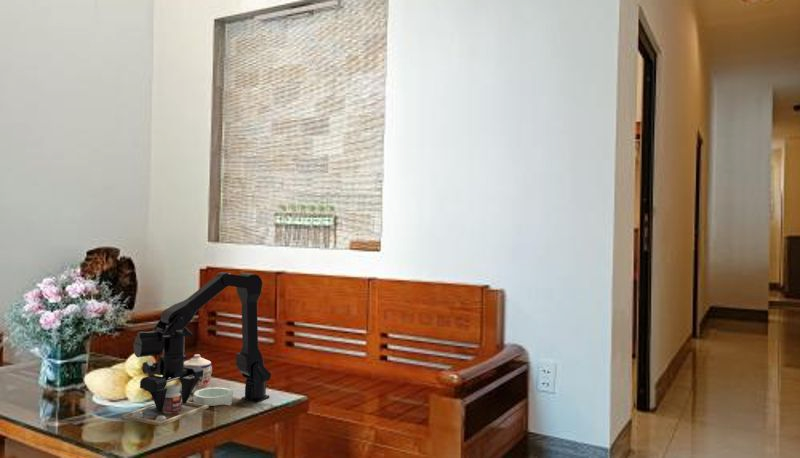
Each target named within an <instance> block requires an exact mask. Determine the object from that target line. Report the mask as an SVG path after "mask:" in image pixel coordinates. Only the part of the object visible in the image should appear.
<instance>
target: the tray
mask: <svg viewBox="0 0 800 458" xmlns="http://www.w3.org/2000/svg"><path fill="white" fill-rule="evenodd" d="M181 405H186V406H190V407H197V408H194V409H191V410H188V411H186V412H183V413H181V414H178V415H175V416H173V417H170V418H168V419H167V418H166V419H167V420H164V421H162V422H159V421H155V419H149V418H145V417H144V418H143V417H141V418H140V417H135V416H132V414H133V413H134V412H135V411H141V412H142V413H144V412H147V411H150V410H152V409H157V408H156V405H155V403H154V404H152V405H148V406H145V407H142V408H139V409H136V410H134V411H131V412H128V413H124V414H122V415H121V418H122V419H126V420H130V421H135V422H141V423H145V424H149V425H152V426H153V425H155V426H159V427H162V426H165V425H167V424H169V423H173V422H175V421H177V420H180V419H182V418H186V417H188V416H191V415H194V414H196V413H198V412H202V411H203V410H204V411H205V410H206V409H209V406H208V405H205V404H199V403H194V402H192V401H188V400H187V402H186V403H185V404H184V403H182V399H181Z"/></svg>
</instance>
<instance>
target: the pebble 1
mask: <svg viewBox="0 0 800 458" xmlns="http://www.w3.org/2000/svg"><path fill="white" fill-rule="evenodd" d="M134 411H135V412H134V413H133V414H132V416H135V417H140V418H143V417H144V412H141V411H136V410H134Z"/></svg>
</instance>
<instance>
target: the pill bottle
mask: <svg viewBox="0 0 800 458" xmlns="http://www.w3.org/2000/svg"><path fill="white" fill-rule="evenodd" d="M165 388H166V389H167V391H166V396H165V401H164V405H163V409H162V412H163V413H164V414H177V413H179V412H181V408H182V404H181V400H182V392H181V385H178V384H170V385H169V384H168V385H166V386H165Z"/></svg>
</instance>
